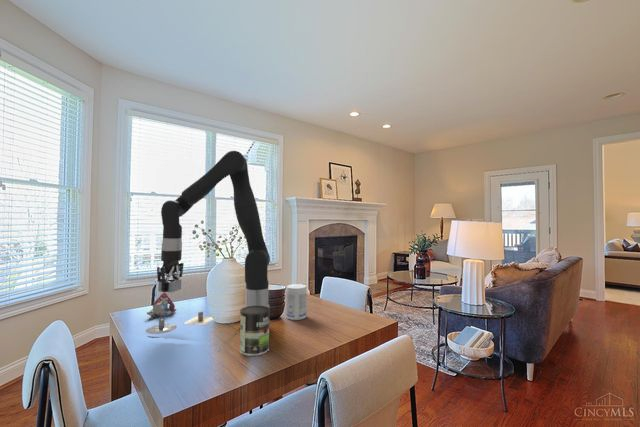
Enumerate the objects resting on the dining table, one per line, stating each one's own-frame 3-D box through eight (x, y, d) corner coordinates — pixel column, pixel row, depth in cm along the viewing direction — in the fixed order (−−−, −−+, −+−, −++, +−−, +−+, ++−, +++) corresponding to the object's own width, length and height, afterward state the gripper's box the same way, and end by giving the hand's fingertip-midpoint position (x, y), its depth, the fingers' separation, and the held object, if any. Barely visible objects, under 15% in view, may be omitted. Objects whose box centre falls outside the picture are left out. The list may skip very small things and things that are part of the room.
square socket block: (181, 289, 127) (181, 279, 127) (171, 292, 122) (172, 282, 122) (168, 288, 128) (168, 278, 128) (158, 291, 122) (158, 281, 123)
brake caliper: (183, 307, 147) (174, 291, 140) (171, 328, 138) (161, 311, 131) (162, 306, 149) (152, 290, 142) (149, 326, 140) (137, 310, 133)
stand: (216, 320, 137) (217, 309, 137) (205, 328, 127) (205, 316, 127) (195, 319, 138) (196, 308, 138) (183, 327, 128) (183, 315, 128)
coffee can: (275, 348, 109) (276, 308, 109) (254, 359, 100) (255, 315, 101) (254, 341, 115) (254, 303, 115) (233, 351, 106) (233, 310, 106)
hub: (182, 328, 127) (182, 316, 127) (165, 338, 116) (165, 325, 116) (157, 326, 128) (158, 314, 128) (139, 336, 117) (139, 323, 117)
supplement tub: (304, 313, 149) (305, 283, 149) (308, 320, 140) (308, 287, 140) (284, 314, 147) (285, 284, 147) (286, 321, 137) (287, 288, 138)
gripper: (168, 251, 118) (166, 295, 117) (190, 248, 132) (188, 287, 131) (151, 250, 119) (149, 293, 118) (174, 247, 133) (172, 285, 133)
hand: (169, 289), depth 125 cm, fingers closed on square socket block, 6 cm apart
